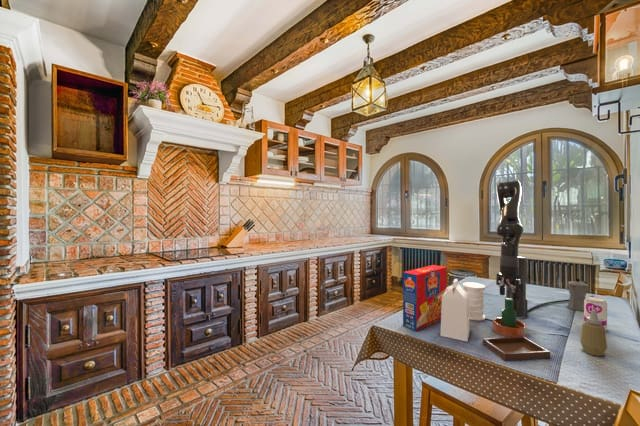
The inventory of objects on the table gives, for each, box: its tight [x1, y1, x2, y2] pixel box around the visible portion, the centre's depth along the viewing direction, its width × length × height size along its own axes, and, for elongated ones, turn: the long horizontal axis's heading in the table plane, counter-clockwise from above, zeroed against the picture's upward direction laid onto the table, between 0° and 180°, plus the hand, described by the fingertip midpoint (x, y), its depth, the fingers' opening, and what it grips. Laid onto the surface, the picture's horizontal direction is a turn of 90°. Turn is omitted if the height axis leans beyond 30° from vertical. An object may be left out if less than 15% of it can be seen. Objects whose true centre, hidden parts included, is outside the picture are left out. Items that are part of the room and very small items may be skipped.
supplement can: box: [583, 296, 608, 331], centre depth 142 cm, size 8×8×15 cm
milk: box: [439, 278, 471, 342], centre depth 138 cm, size 12×12×26 cm
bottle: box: [501, 297, 517, 328], centre depth 138 cm, size 6×6×16 cm
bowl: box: [492, 316, 527, 338], centre depth 138 cm, size 13×13×5 cm
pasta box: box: [402, 264, 448, 332], centre depth 152 cm, size 28×8×28 cm, turn 127°
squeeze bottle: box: [580, 310, 608, 357], centre depth 119 cm, size 8×8×18 cm
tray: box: [482, 336, 551, 361], centre depth 121 cm, size 20×14×3 cm
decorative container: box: [462, 281, 486, 321], centre depth 157 cm, size 12×12×18 cm
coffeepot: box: [567, 278, 589, 312], centre depth 170 cm, size 15×9×18 cm, turn 113°
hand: (508, 297), depth 138 cm, fingers open, 8 cm apart
